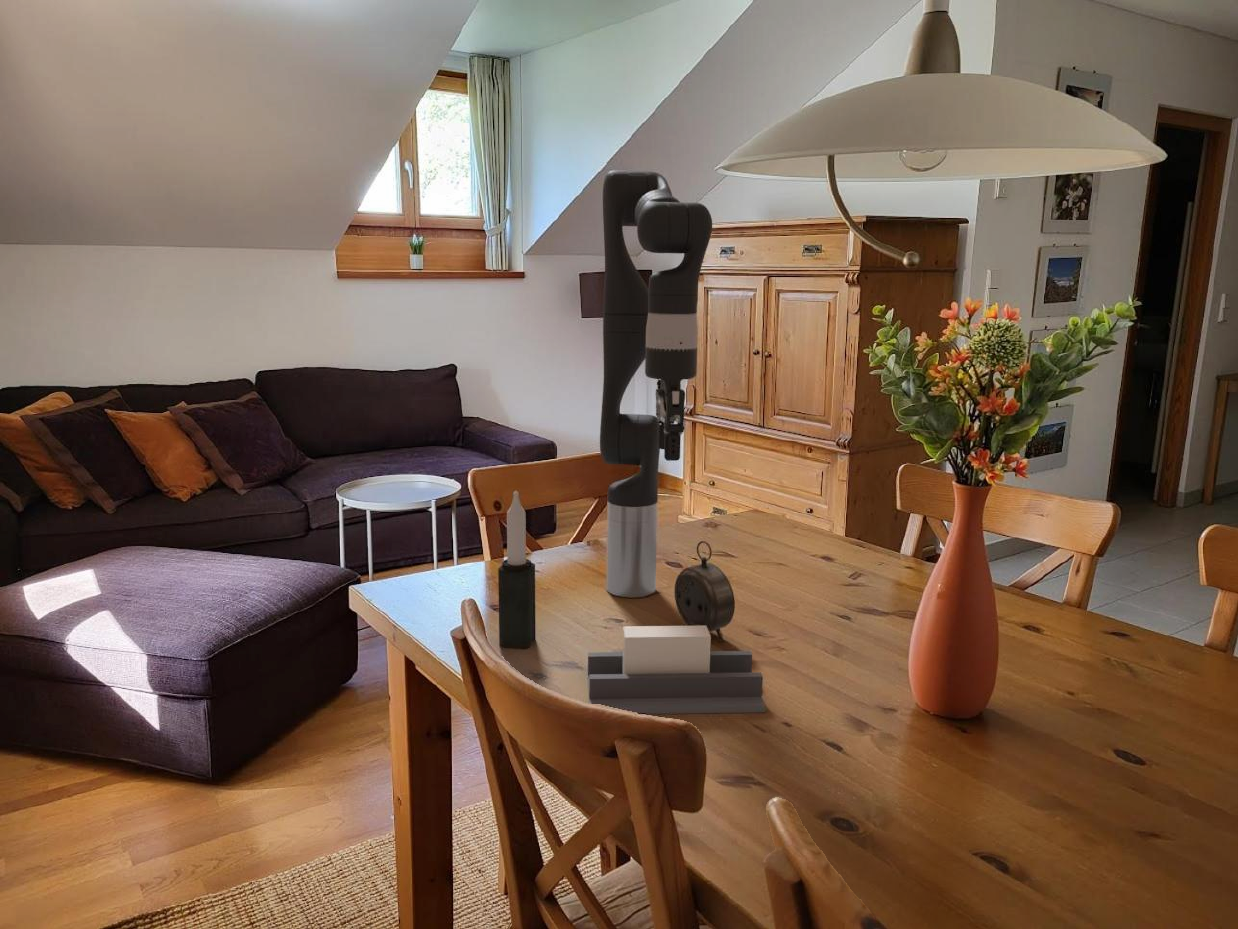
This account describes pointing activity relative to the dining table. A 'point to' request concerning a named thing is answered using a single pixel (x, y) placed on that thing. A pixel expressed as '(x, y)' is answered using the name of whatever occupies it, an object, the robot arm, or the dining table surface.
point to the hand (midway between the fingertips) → (668, 454)
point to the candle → (516, 584)
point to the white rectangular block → (666, 649)
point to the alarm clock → (705, 596)
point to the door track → (678, 686)
